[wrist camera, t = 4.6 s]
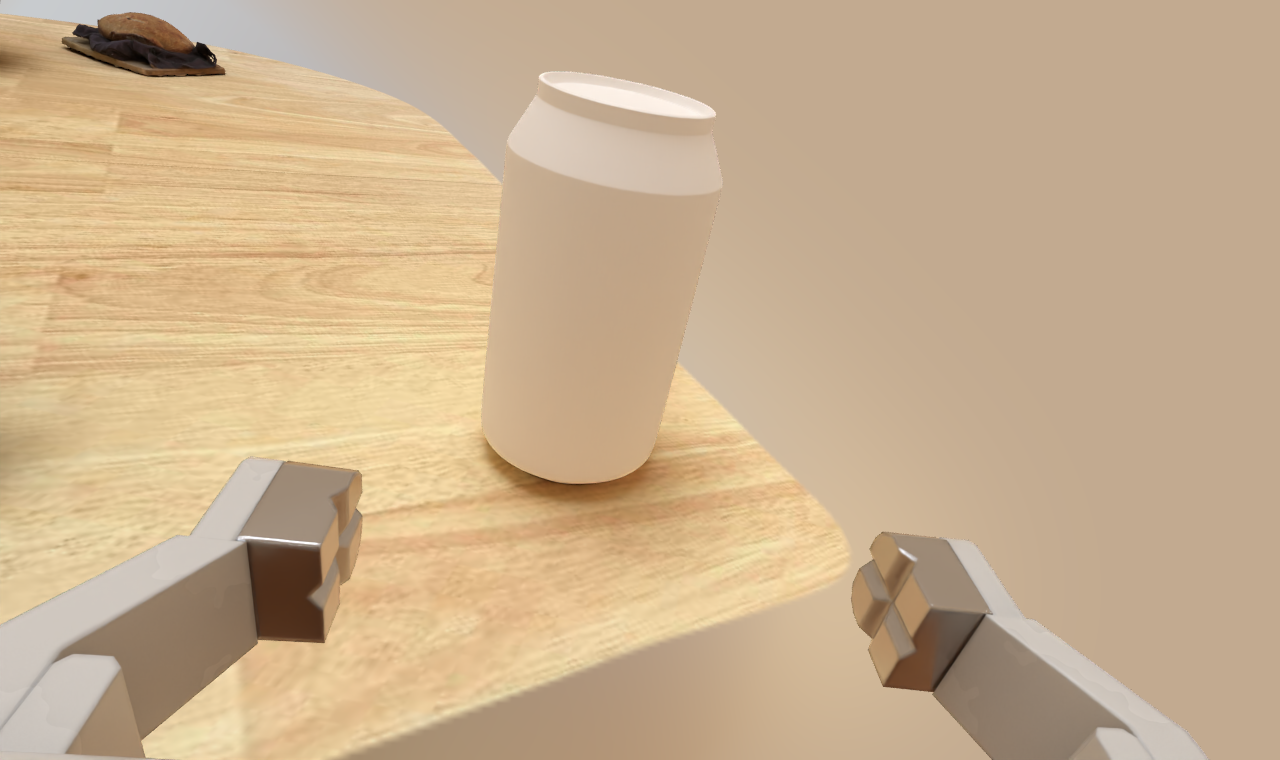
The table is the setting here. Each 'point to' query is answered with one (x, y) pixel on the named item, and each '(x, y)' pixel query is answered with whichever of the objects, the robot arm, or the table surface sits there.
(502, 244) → the beverage can
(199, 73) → the bread roll
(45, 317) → the table surface
